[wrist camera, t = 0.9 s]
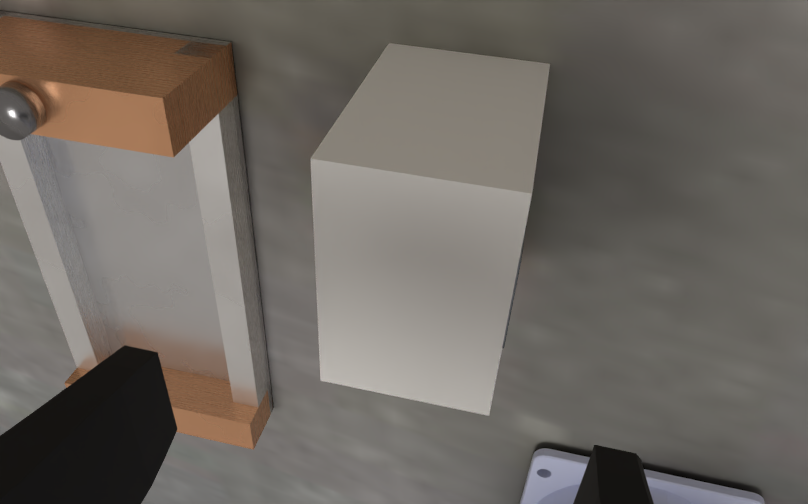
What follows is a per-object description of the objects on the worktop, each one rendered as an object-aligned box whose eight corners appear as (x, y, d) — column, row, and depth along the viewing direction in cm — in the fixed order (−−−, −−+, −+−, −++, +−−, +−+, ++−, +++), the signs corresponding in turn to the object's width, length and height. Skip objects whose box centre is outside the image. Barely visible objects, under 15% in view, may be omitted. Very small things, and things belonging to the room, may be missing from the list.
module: (515, 257, 20) (491, 416, 15) (381, 234, 20) (318, 380, 16) (552, 63, 16) (534, 193, 12) (387, 42, 17) (307, 158, 12)
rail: (273, 408, 27) (228, 500, 24) (103, 371, 28) (38, 454, 25) (231, 41, 18) (148, 109, 14) (-20, 8, 19) (-149, 64, 15)
